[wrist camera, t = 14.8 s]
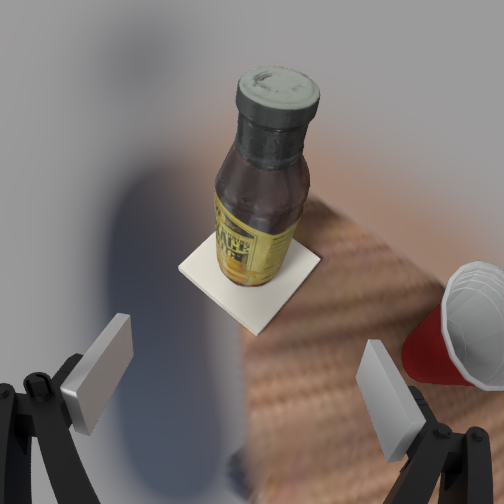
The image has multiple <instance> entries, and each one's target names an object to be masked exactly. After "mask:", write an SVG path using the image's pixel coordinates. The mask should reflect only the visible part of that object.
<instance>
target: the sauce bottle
mask: <svg viewBox="0 0 504 504" xmlns="http://www.w3.org/2000/svg"><path fill="white" fill-rule="evenodd" d="M319 100H320V91H319V88H318V86H317V84H316V83H315V82H314V81H312V80H311V79H310V78H309V77H308V76H307V75H305V74H303V73H301V72H298V71H296V70H294V69H288V68H284V67H281V66H262V67H257V68H254V69H252V70H249V71H248V72H246V73H245V74H244V75H243V76H242V77H241V78H240V80H239V81H238V87H237V94H236V105H237V108H238V110H239V116H238V130H237V133H236V137H235V141H234V143H233V145H232V147H231V149H230V150H229V152H228V154H227V156H226V158H225V160H224V162H223V164H222V166H221V168H220V170H219V172H218V174H217V176H216V179H215V191H214V192H215V225H216V226H215V229H216V254H217V260H218V263H219V267H220V269H221V271H222V273H223V274H224V275H225V276H226V277H227V278H228V279H229V280H230V281H232V282H233V283H234V284H236V285H237V286H242V287H259V286H263V285H264V284H266V283H267V282H269V281H270V280H271V279H272V278H273V277H274V276H275V275H276V274H277V273H278V271H279V270H280V268H281V266H282V263H283V261H284V258H285V256H286V253H287V251H288V248H289V245H290V243H291V240H292V238H293V235H294V232H295V230H296V227H297V225H298V222H299V220H300V217H301V214H302V211H303V204H304V202H305V201H306V198H307V195H308V191H309V187H310V174H309V169H308V166H307V163H306V161H305V159H304V156H303V155H302V153H303V148H304V139H305V135H306V132H307V128H308V124H309V122H310V121H311V120H312V119H313V118H314V117H315V114H316V112H317V108H318V104H319Z"/></svg>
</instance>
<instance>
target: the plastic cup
mask: <svg viewBox="0 0 504 504" xmlns="http://www.w3.org/2000/svg"><path fill="white" fill-rule="evenodd" d="M402 362H403V366H404V369H405V371H406V372H407V373H408V375H409V376H410V377H411V378H413V379H414V380H416V381H419V382H422V383H433V384H443V385H465V386H477V387H478V388H480V389H482V390H484V391H504V270H502V269H501V268H500V267H498V266H497V265H494V264H490V263H487V262H483V261H475V262H472V263H468V264H464V265H462V266H461V267H460V268H459V269H458V270H457V271H456V272H455V273H454V274H453V275H452V276H451V277H450V278H449V280H448V283H447V286H446V289H445V292H444V295H443V298H442V299H441V301H440V303H439V304H438V305H437V306H436V308H435V309H434V310H433V311H432V312H431V313H430V314H429V315H428V316H427V317H426V318H425V319H424V320H423V321H422V322H421V323H420V324H419V325H418V327H417V328H416V329H415V330H414V331H413V332H412V333H411V334H410V335H409V336H408V338H407V339H406V341H405V343H404V345H403V348H402Z"/></svg>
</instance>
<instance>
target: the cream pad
mask: <svg viewBox="0 0 504 504" xmlns="http://www.w3.org/2000/svg"><path fill="white" fill-rule="evenodd" d="M319 261H320V258H319V257H317V256H316V255H315V254H313V253H312V252H311V251H309V250H308V249H307V248H305V247H304V246H303V245H301V244H300V243H299V242H297V241H296V240H295V239H293V238H292V240H291V243H290V245H289V248H288V251H287V253H286V256H285V258H284V261H283V263H282V266H281V268H280V270H279V271H278V273H277V274H276V275H275V276H274V277H273V278H272V279H271V280H270V281H269V282H267V283H266V284H264V285H263V286H259V287H242V286H237V285H236V284H234V283H233V282H232V281H230V280H229V279H228V278H227V277H226V276H225V275H224V274H223V273H222V271H221V269H220V267H219V263H218V260H217V254H216V231H215V232H214V233H213V234H212V235H211V236H210V237H209V238H208V239H207V240H206V241H205V242H203V243H202V244H201V245H200V246H199V247H198V248H197V249H196V250H195V251H194V252H193V253H192V254H191V255H190V256H189V257H188V258H187V259H186V260H185V261H184V262H183V263H182V264H180V265H179V266H178V267H179V270H180V272H182V273H183V274H184V275H185V276H186V277H187V278H188V279H190V280H191V281H192V282H193V283H194V284H195V285H196V286H198V287H199V288H200V289H201V290H202V291H203V292H205V293H206V294H207V295H208V296H209V297H210V298H211V299H213V300H214V301H215V302H216V303H217V304H218V305H220V306H221V307H222V308H223V309H225V310H226V311H227V312H228V313H229V314H230V315H232V316H233V317H234V318H235V319H236V320H238V321H239V322H240V323H241V324H242V325H244V326H245V327H246V328H247V329H248V330H250V331H251V332H252V333H253V334H255V335H256V336H258V335H259V334H260V332H261V331H262V330H263V329H264V328H265V327H266V325H267V324H268V323H269V322H270V321H271V320H272V318H273V317H274V316H275V315H276V314H277V313H278V311H279V310H280V309H281V308H282V307H283V306H284V304H285V303H286V302H287V301H288V300H289V298H290V297H291V296H292V295H293V294H294V292H295V291H296V290H297V289H298V288H299V286H300V285H301V284H302V283H303V281H304V280H305V279H306V278H307V277H308V275H309V274H310V273H311V272H312V270H313V269H314V268H315V267H316V265H317V264H318V263H319Z"/></svg>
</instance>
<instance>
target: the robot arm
mask: <svg viewBox="0 0 504 504" xmlns="http://www.w3.org/2000/svg"><path fill="white" fill-rule="evenodd" d="M133 356H134V355H133V346H132V334H131V321H130V315H126V314H121V313H117V314H116V315H115V317H114V318H113V319H112V320H111V322H110V323H109V324H108V325H107V327H106V328H105V329H104V330H103V332H102V333H101V334H100V335H99V337H98V338H97V339H96V340H95V342H94V343H93V344H92V346H91V347H90V348H89V350H88V351H87V352H86V353H85V355H81V354H77V353H76V354H74V355H73V356H71V357H69V358H68V359H67V360H66V362H65V363H64V364H63V365H62V367H61V368H60V369H59V371H57V373H56V374H55V375H54V377H53V378H52V379H51V378H50V376H49V375H47V374H46V373H42V372H35V373H32V374H30V375H28V376H27V377H26V378H25V379H24V382H23V385H24V388H25V390H26V393H27V394H22V393H16V392H15V390H14V388H13V386H11V385H10V384H7V383H1V384H0V504H32V497H31V443H32V437H37V439H38V442H39V446H40V450H41V453H42V457H43V461H44V464H45V467H46V470H47V473H48V476H49V480H50V483H51V485H52V488H53V491H54V494H55V497H56V499H57V502H58V504H101V503H100V502H99V499H98V498H97V495H96V493H95V492H94V489H93V487H92V485H91V483H90V481H89V479H88V476H87V474H86V472H85V469H84V467H83V465H82V462H81V460H80V458H79V455H78V453H77V450H76V447H75V445H74V442H73V440H72V437H71V434H70V431H69V427H70V426H71V424H73V427H74V429H75V431H76V432H79V433H82V434H85V435H89V436H90V435H91V433H92V431H93V429H94V427H95V425H96V423H97V421H98V419H99V418H100V416H101V414H102V412H103V410H104V408H105V406H106V404H107V403H108V401H109V399H110V397H111V395H112V393H113V391H114V389H115V388H116V386H117V384H118V382H119V381H120V379H121V377H122V375H123V373H124V371H125V370H126V368H127V366H128V365H129V363H130V361H131V359H132V357H133ZM355 378H356V381H357V383H358V386H359V388H360V391H361V393H362V396H363V399H364V401H365V404H366V407H367V409H368V412H369V415H370V417H371V420H372V423H373V426H374V428H375V431H376V434H377V437H378V439H379V442H380V445H381V448H382V451H383V453H384V456H385V459H386V462H395V461H401V460H402V458H403V457H404V455H405V454H406V453H407V455H408V458H409V459H408V461H407V462H406V463H405V465H404V466H403V468H402V469H401V470H400V472H401V473H400V475H399V477H398V478H397V480H396V482H395V484H394V485H393V487H392V489H391V491H390V492H389V494H388V496H387V497H386V499H385V501H384V502H383V504H428V502H429V500H430V497H431V495H432V493H433V490H434V488H435V486H436V483H437V481H438V478H439V476H440V473H441V479H440V489H439V498H438V504H493V477H492V462H491V451H490V442H489V436H488V433H487V432H486V431H485V430H484V429H482V428H480V427H471V428H469V429H468V430H467V432H466V433H465V434H461V433H453V432H452V430H451V429H450V428H449V427H448V426H447V425H445V424H442V423H438V421H437V420H436V418H435V416H434V414H433V413H432V411H431V409H430V407H429V406H428V405H427V402H426V400H424V397H423V395H422V394H421V392H420V391H419V390H418V389H417V388H416V387H414V386H407V385H406V383H405V382H404V380H403V378H402V376H401V375H400V373H399V371H398V369H397V368H396V366H395V364H394V362H393V361H392V359H391V357H390V355H389V354H388V352H387V350H386V349H385V347H384V345H383V344H382V342H381V340H371V339H368V342H367V345H366V348H365V351H364V354H363V357H362V360H361V363H360V366H359V369H358V372H357V375H356V377H355Z"/></svg>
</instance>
